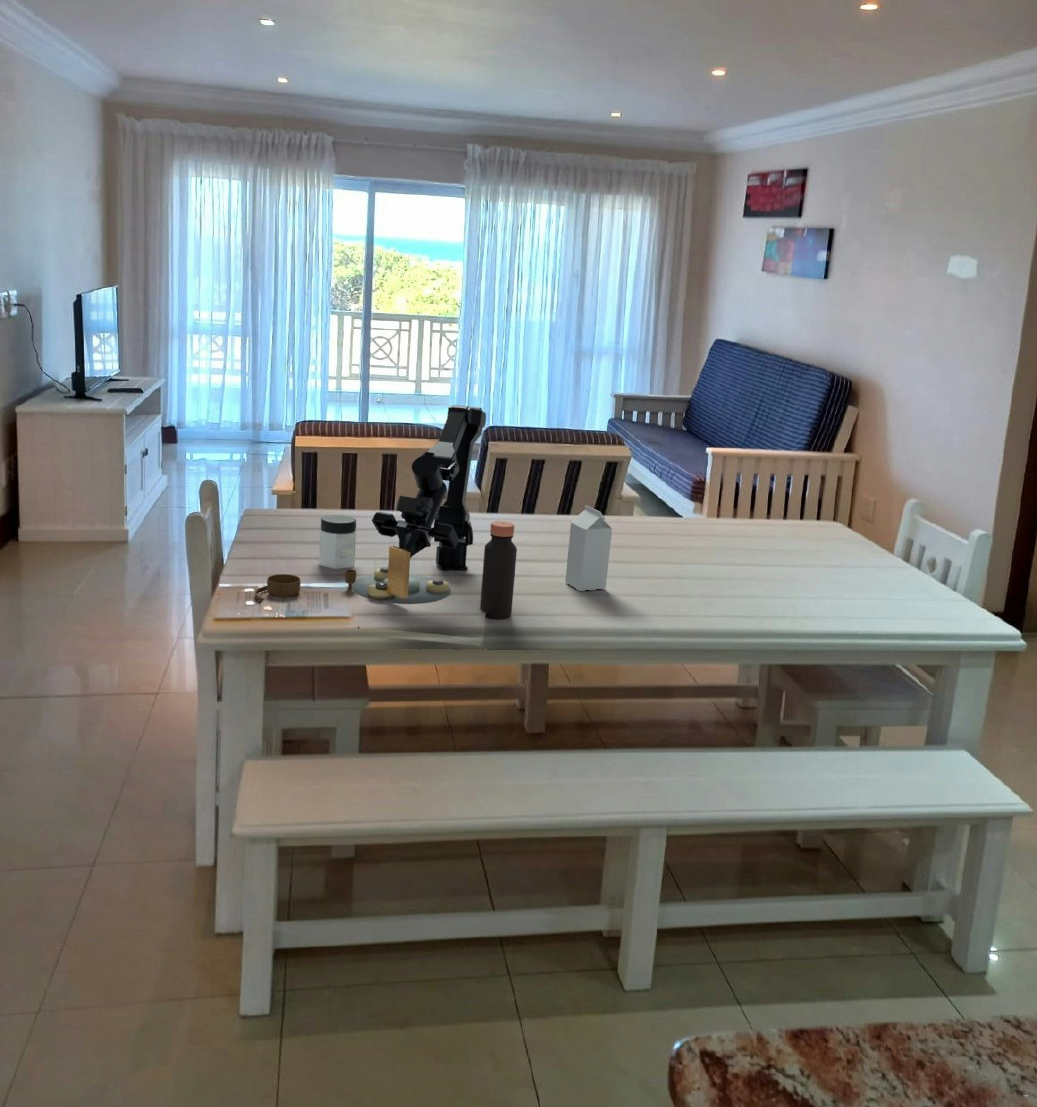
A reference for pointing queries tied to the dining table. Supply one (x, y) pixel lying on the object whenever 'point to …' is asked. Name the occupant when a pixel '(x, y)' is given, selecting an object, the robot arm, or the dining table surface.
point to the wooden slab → (393, 576)
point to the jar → (337, 541)
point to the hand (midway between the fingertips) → (400, 562)
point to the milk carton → (588, 551)
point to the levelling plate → (418, 588)
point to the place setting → (293, 584)
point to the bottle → (499, 571)
